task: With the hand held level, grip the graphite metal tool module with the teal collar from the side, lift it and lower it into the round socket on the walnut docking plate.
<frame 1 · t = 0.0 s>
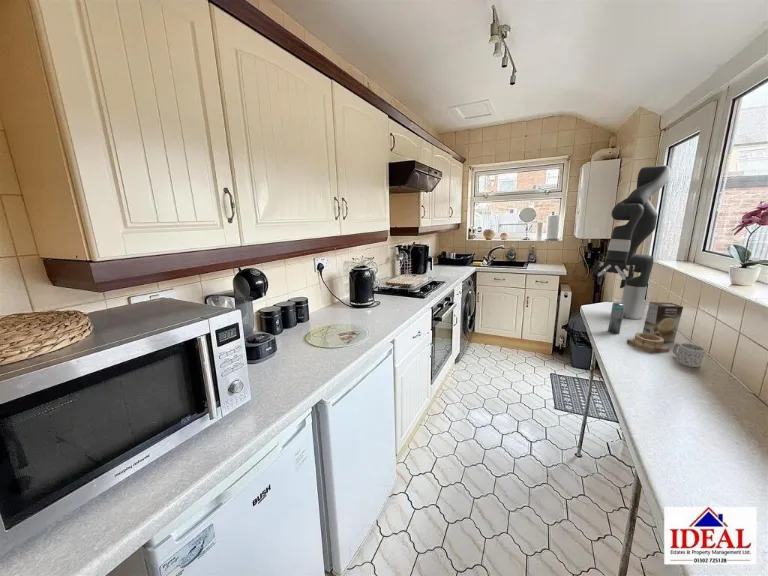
hand: (609, 286, 134), 22 cm above the counter, tool pointing down, fingers open, 8 cm apart
tool module: (613, 332, 140), on the counter
coffee box: (657, 339, 133), on the counter
mug: (683, 361, 113), on the counter
dock: (647, 347, 125), on the counter
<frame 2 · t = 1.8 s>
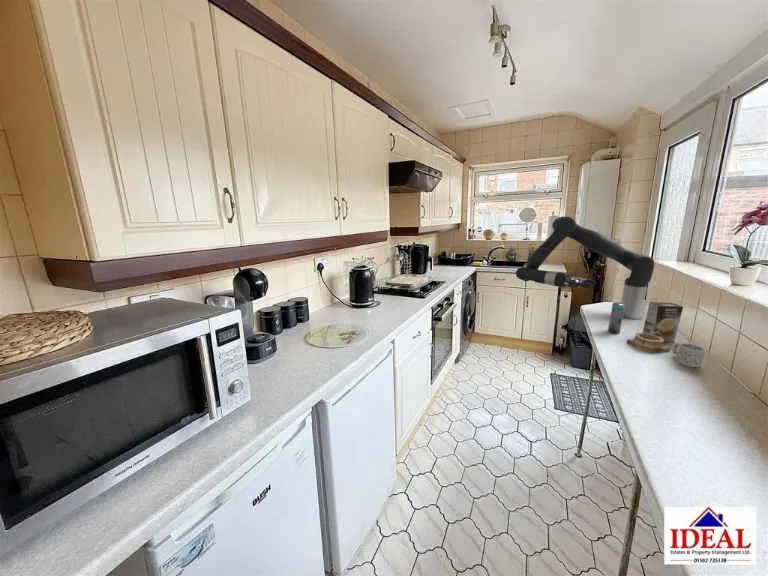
hand: (593, 284, 143), 21 cm above the counter, tool horizontal, fingers open, 8 cm apart
nothing on the counter moved.
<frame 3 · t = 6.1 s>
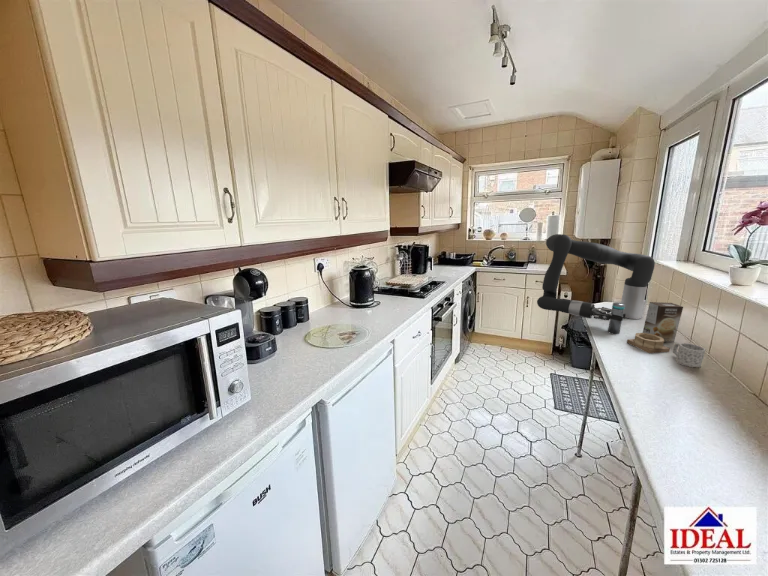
hand: (623, 317, 136), 8 cm above the counter, tool horizontal, fingers closed on tool module, 4 cm apart
tool module: (613, 332, 140), on the counter, touching gripper
everything else where it was.
when the fingers open (11 cm above the counter, at t = 12.4 s): tool module drops 1 cm, resting on dock.
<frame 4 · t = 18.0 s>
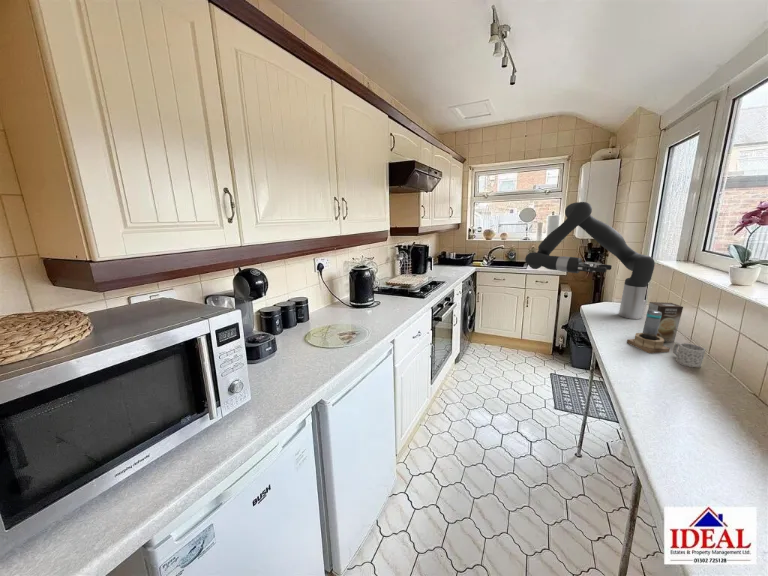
hand: (608, 268, 134), 30 cm above the counter, tool horizontal, fingers open, 8 cm apart
tool module: (647, 343, 124), point 2 cm above the counter, touching dock
everything else where it was.
at the end: tool module 0.1 cm off-centre on the dock, point 1.5 cm above the dock's base; tool module tilted 0°; the gripper is holding nothing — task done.
